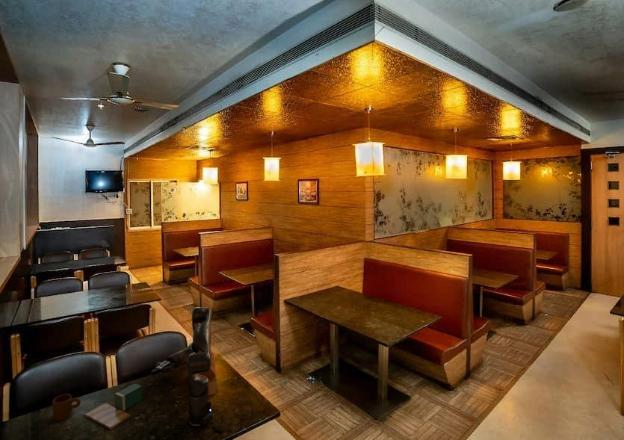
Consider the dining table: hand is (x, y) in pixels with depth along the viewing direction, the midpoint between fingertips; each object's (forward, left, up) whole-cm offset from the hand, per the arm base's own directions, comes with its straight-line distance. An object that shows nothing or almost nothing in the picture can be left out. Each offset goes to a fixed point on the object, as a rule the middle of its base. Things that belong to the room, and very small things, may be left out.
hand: (151, 373), depth 191 cm
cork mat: (0, +25, -9) cm, 27 cm away
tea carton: (0, +14, -6) cm, 15 cm away
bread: (-21, -18, -10) cm, 29 cm away
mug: (+17, +34, -10) cm, 39 cm away
